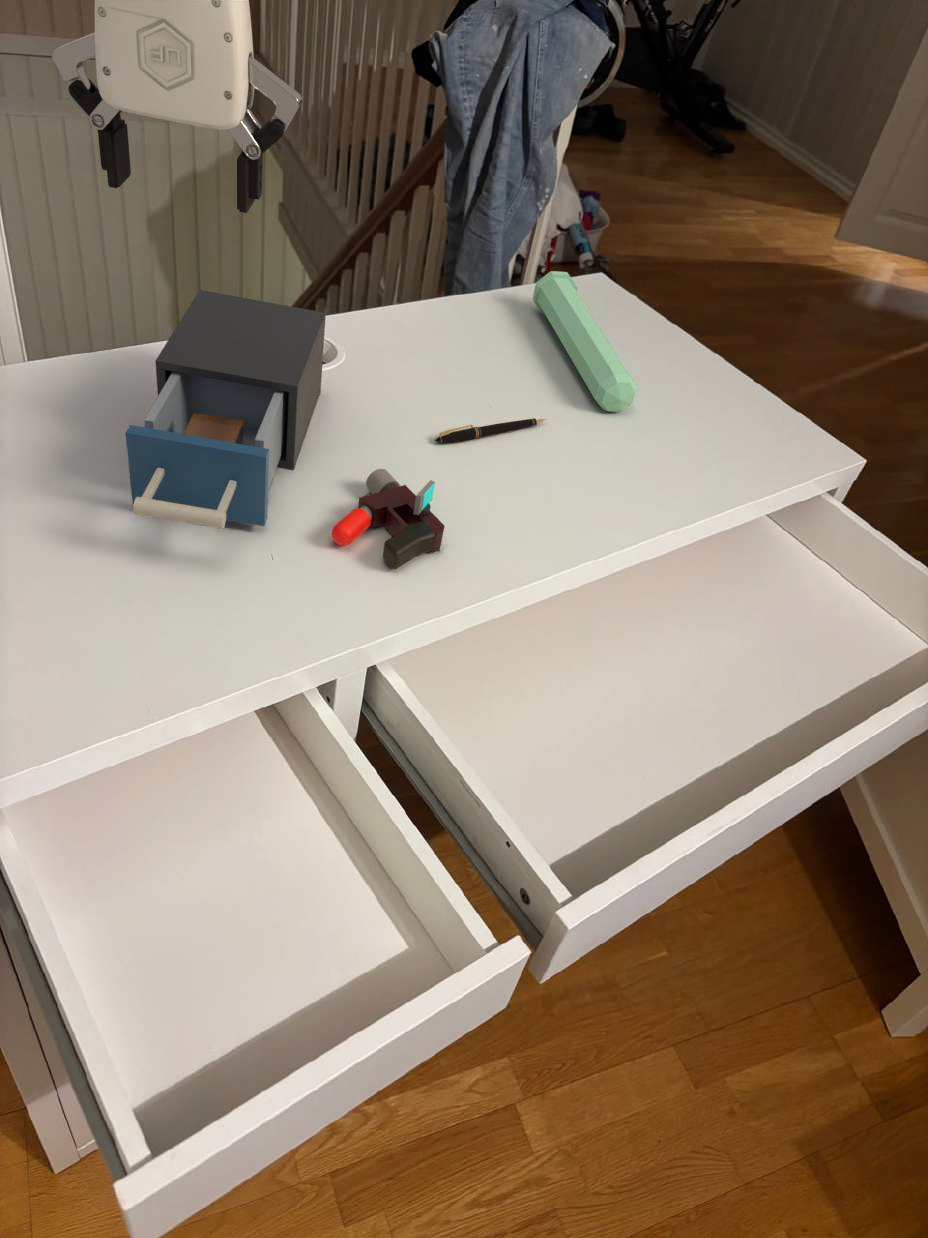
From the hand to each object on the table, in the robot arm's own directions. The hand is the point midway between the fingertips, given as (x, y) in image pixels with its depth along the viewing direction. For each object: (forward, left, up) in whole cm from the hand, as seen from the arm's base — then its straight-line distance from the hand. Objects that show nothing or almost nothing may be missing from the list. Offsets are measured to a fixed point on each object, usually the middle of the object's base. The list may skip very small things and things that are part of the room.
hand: (183, 193), depth 72 cm
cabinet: (+3, +8, -24) cm, 26 cm away
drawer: (+3, -5, -23) cm, 24 cm away
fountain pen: (+28, +13, -25) cm, 40 cm away
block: (+3, -4, -22) cm, 23 cm away
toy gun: (+18, -6, -24) cm, 31 cm away
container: (+38, +33, -24) cm, 56 cm away
